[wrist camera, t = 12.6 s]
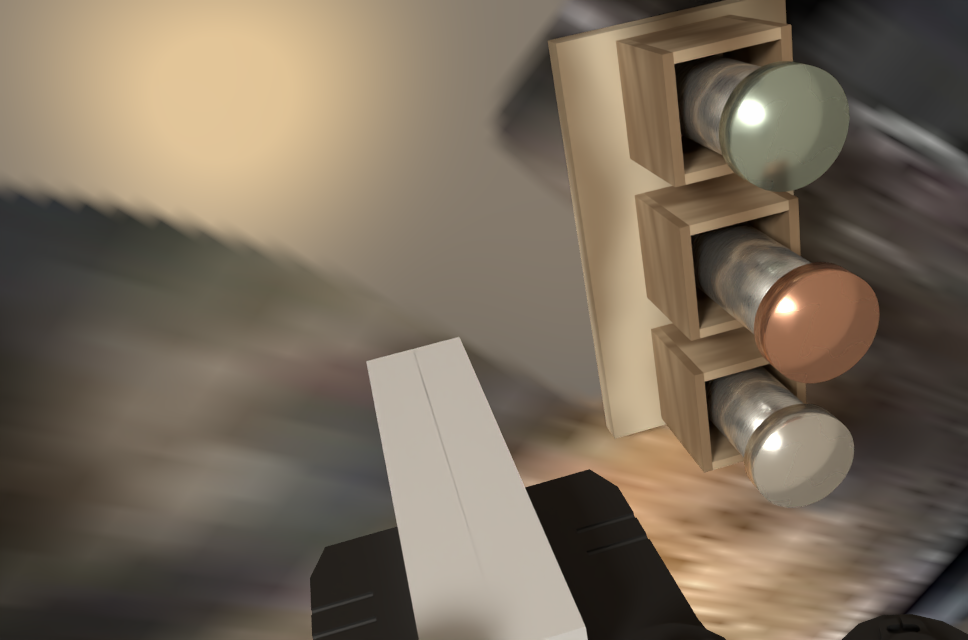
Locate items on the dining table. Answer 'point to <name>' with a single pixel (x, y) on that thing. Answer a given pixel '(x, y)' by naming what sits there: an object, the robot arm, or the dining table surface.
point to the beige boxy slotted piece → (662, 214)
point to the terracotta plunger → (787, 301)
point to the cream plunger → (780, 437)
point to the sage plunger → (764, 118)
